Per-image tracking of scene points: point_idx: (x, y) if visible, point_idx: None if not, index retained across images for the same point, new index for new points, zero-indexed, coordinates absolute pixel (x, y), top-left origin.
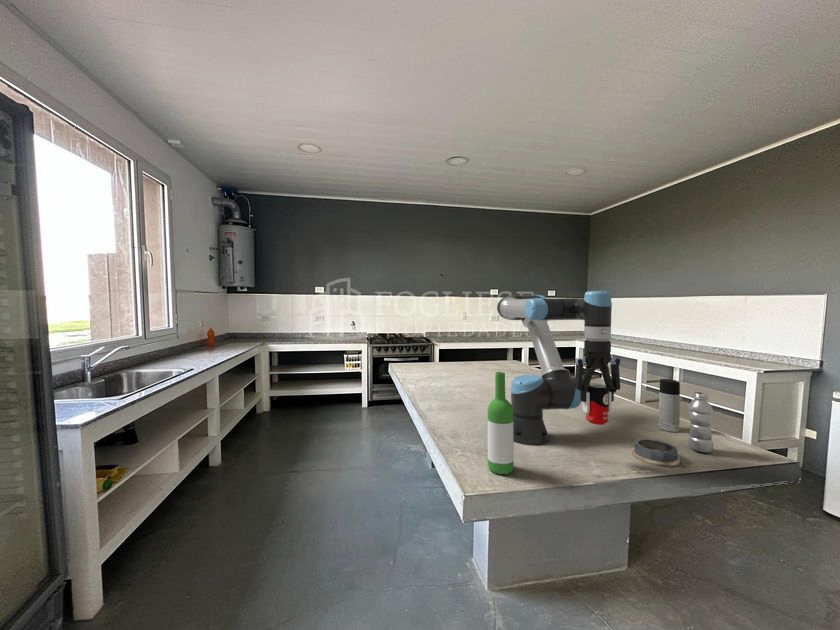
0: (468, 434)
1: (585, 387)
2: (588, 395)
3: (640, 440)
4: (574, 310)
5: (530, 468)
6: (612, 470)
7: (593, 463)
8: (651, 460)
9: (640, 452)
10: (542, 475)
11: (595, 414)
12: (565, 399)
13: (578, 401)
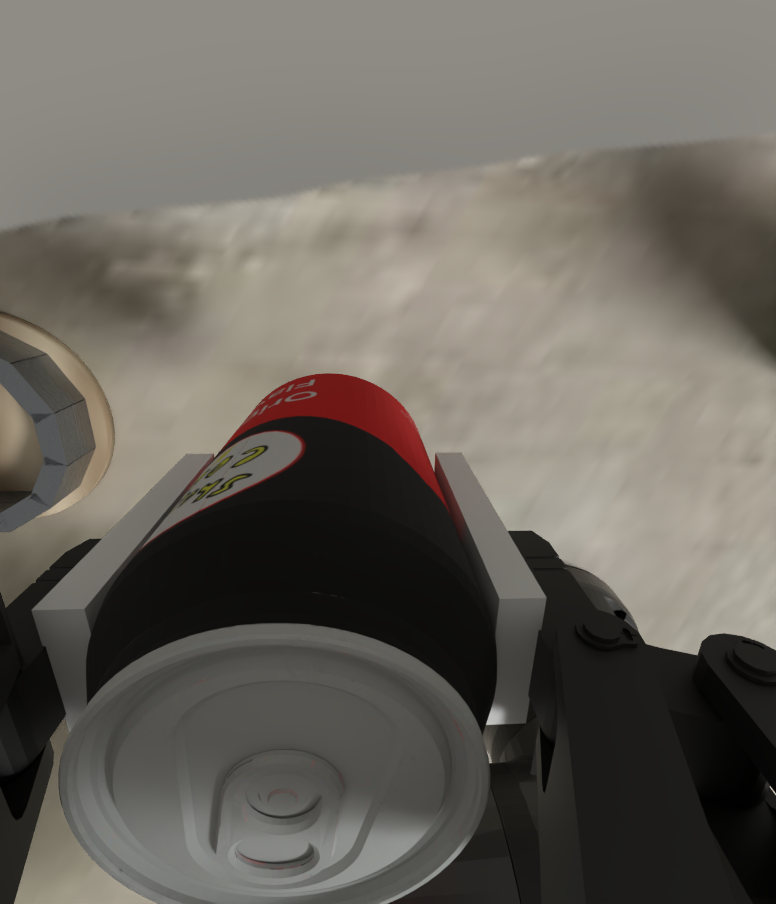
0: None
1: (635, 688)
2: (504, 566)
3: (9, 508)
4: None
5: (700, 333)
6: (310, 288)
7: (366, 369)
8: (49, 354)
9: (74, 410)
10: (687, 258)
11: (392, 412)
12: None
13: None
